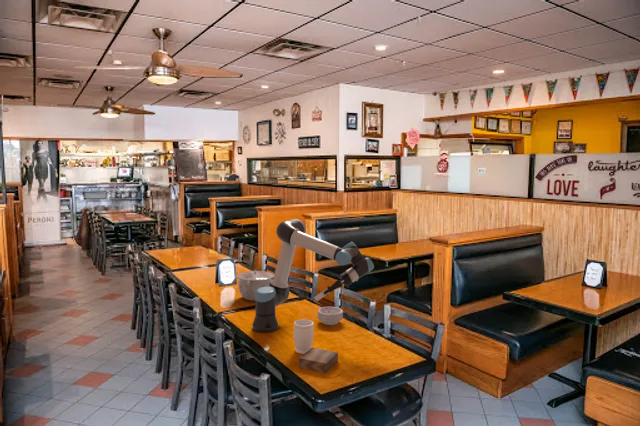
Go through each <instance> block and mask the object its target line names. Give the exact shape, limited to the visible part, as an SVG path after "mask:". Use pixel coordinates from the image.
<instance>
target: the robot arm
mask: <svg viewBox="0 0 640 426" xmlns="http://www.w3.org/2000/svg"><path fill="white" fill-rule="evenodd" d="M305 225H306V224H304V221H302V220H300V219H296V218H292V219H289V220H284V221H280V223H279V224H278V225H277V227H276V230H275V231H276V232H275V233H276V236H277V238H278V239H279V240H280V241H281V247H280V251H279V254H278V260H277V263H276V268H275V271H274V278H272V279H271V281H270V284H269V287H261V288H259V289H258V290H257V291H256V295H255V301H254V302H255V303H254V304H255V306H254V307H255V313H254V314H255V315H254V319H253V322H252V327H251V328H252V331H255V332H256V333H257V332H258V333H263V334H264V333H265V334H266V333H274V332H276V331H278V330H279V323H278V319H277V316H276V307H277V306H279V305H281V304H283V303H284V302H286V301H287V300H288V298H289V297H290V289H289V287H290V284H289V283H288V280H289V276H290V272H291V268H292V265H293V260H294V256H295V253H296V248H297V246H299V247H301V248H303V249H306V250H308V251H311V252H313V253H315V254H319V255H320V256H322V257H326V258H328V259H330V260H334V261H335V262H336V263H337V264H338V265H340V266H345V265H349V264H350V263H351V264H352V266H351V267H350V268H348V269H346V270H345V271H344V272H342V273H340V274H339V279H340V280H339V279H337V280H336V281H335V282H334V283H332V284H331V286H329V285H328V286H327V288H326V289H324V290H323V291H321V292H319V293H318V294H317V295H315V296H314V297H313V298H314V300H315V301H316V302H318V301H320V300H321V299H323V298H324V297H326V296H329V294H330V293H332V292H333V291H335V290H337V289H340V288H342V287H343V286H345V287H349V286H351V285H352V284H353V283H354V282H358V281H359V279H361V278H363V277H364V276H365V275H367V274H369V272H371V271H372V270H374V268H375V265H374V262H373V260H371V258H370V257H364V256H363V253H361V250H360V249H359V248H358V246H357V245H356V244H355V242H353V241H350V242H349V243H347V244H346V245H344V246H343V247H340V246H338V245H335V244H332V243H330V242H328V241H325V240H322V239H320V238H317V237H315V236H313V235H309V234H307V233H306V232H307V231H306V226H305Z"/></svg>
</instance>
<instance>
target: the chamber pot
mask: <svg viewBox="0 0 640 426" xmlns="http://www.w3.org/2000/svg"><path fill="white" fill-rule="evenodd" d="M274 275H275V273H272V272H269V271H263V270H257V269H254V270H250V271H243V272H240V273H238V274H236V275H235V278H236V279H238V283H237V285H238V292H239V293H240V295H241V297H242V298H243V299H244V300H247V301H249V302H250V301H251V302H255V295H256V291H257V290H258V289H259V288H261V287H269V284H270V281H271V280H272V279H274Z"/></svg>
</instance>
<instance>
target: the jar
mask: <svg viewBox="0 0 640 426" xmlns="http://www.w3.org/2000/svg"><path fill="white" fill-rule="evenodd" d="M314 324H315V323H314V321H312V320H310V319H298V320H295V321H294V322H293V341H294V345H295V349H294V351H295V352H296V353H298V354H302V355H303V354H305V353H306V352H307V351H308V350H310V349H311V348H312V346H313V342H314V333H315V332H314Z"/></svg>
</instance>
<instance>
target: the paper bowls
mask: <svg viewBox="0 0 640 426" xmlns="http://www.w3.org/2000/svg"><path fill="white" fill-rule="evenodd" d="M343 315H344V311H343V309H342V308H339V307H336V306H322V307H320V308H318V310H317V319H318V321H321V323H322V325H325V326H336V325H338V324H339V323H340V322H341V321H342V320H343V317H344V316H343Z"/></svg>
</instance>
